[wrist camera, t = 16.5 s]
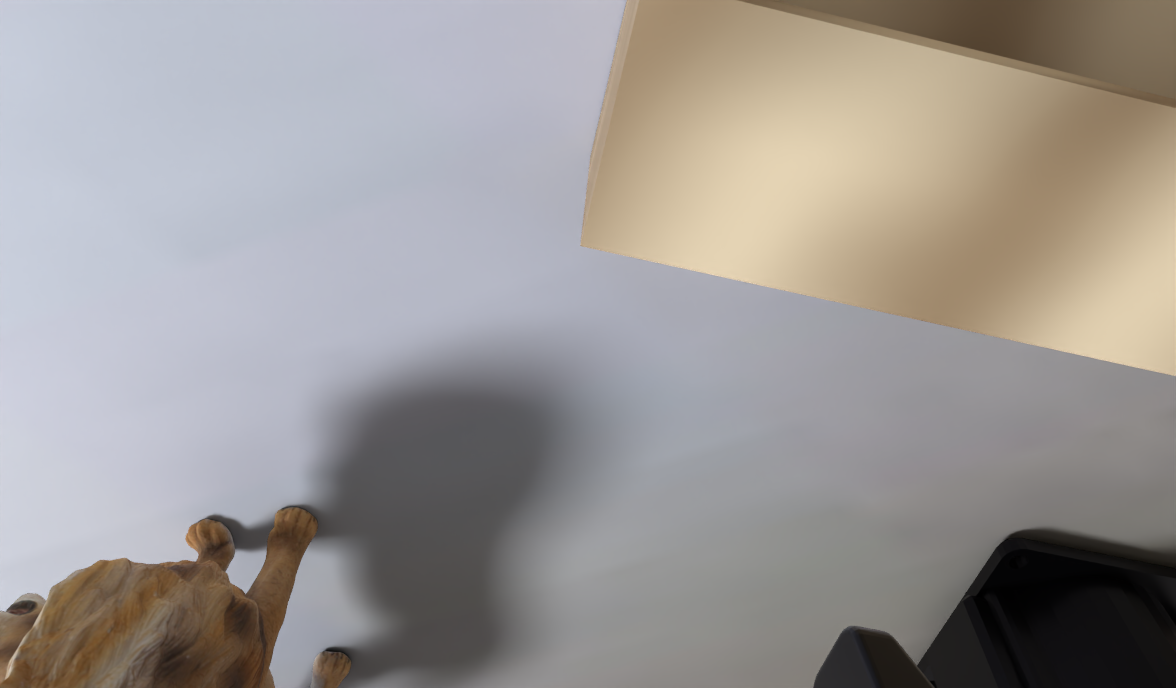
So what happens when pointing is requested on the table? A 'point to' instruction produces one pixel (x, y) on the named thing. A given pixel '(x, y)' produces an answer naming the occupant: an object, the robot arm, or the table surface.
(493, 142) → the table surface
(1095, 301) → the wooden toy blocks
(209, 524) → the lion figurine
